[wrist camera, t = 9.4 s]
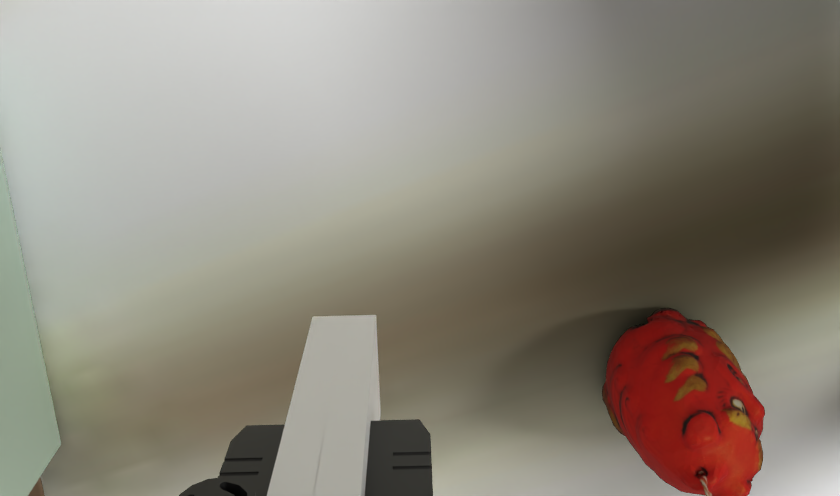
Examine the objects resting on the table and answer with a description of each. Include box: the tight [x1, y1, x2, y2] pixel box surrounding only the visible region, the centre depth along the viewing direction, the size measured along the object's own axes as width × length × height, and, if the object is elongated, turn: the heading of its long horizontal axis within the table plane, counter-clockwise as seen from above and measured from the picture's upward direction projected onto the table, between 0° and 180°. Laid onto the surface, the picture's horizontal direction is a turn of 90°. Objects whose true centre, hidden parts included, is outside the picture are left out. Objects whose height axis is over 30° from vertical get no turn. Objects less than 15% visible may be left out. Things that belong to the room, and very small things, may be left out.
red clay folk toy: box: [602, 308, 765, 496], centre depth 36 cm, size 8×7×15 cm
